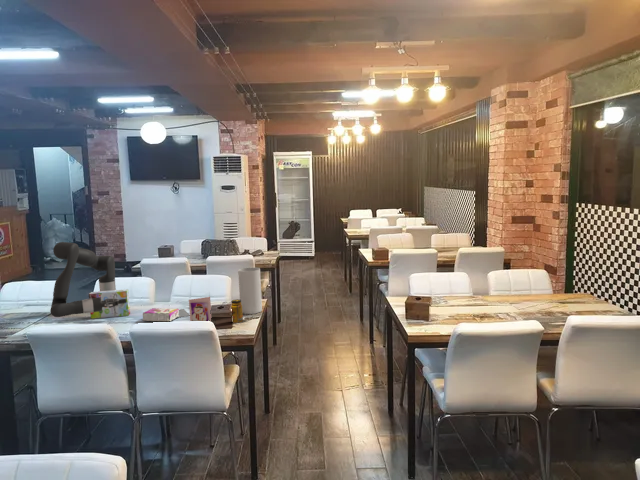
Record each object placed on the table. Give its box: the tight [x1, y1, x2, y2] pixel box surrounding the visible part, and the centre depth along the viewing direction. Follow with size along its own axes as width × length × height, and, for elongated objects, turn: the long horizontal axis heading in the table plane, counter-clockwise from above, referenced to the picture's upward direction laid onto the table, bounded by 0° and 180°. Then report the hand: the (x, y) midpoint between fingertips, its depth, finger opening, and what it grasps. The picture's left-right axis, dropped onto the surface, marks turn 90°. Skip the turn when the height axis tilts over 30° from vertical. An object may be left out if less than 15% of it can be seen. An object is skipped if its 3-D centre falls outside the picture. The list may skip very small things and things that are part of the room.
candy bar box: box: [142, 307, 180, 322], centre depth 283 cm, size 11×5×16 cm
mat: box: [176, 308, 190, 319], centre depth 292 cm, size 20×17×1 cm
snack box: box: [88, 288, 131, 320], centre depth 294 cm, size 21×6×15 cm, turn 100°
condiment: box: [230, 298, 249, 325], centre depth 274 cm, size 7×8×12 cm
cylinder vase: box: [237, 267, 263, 315], centre depth 292 cm, size 12×12×25 cm
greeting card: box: [188, 296, 212, 322], centre depth 267 cm, size 11×7×15 cm, turn 82°
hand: (125, 300), depth 281 cm, fingers closed
